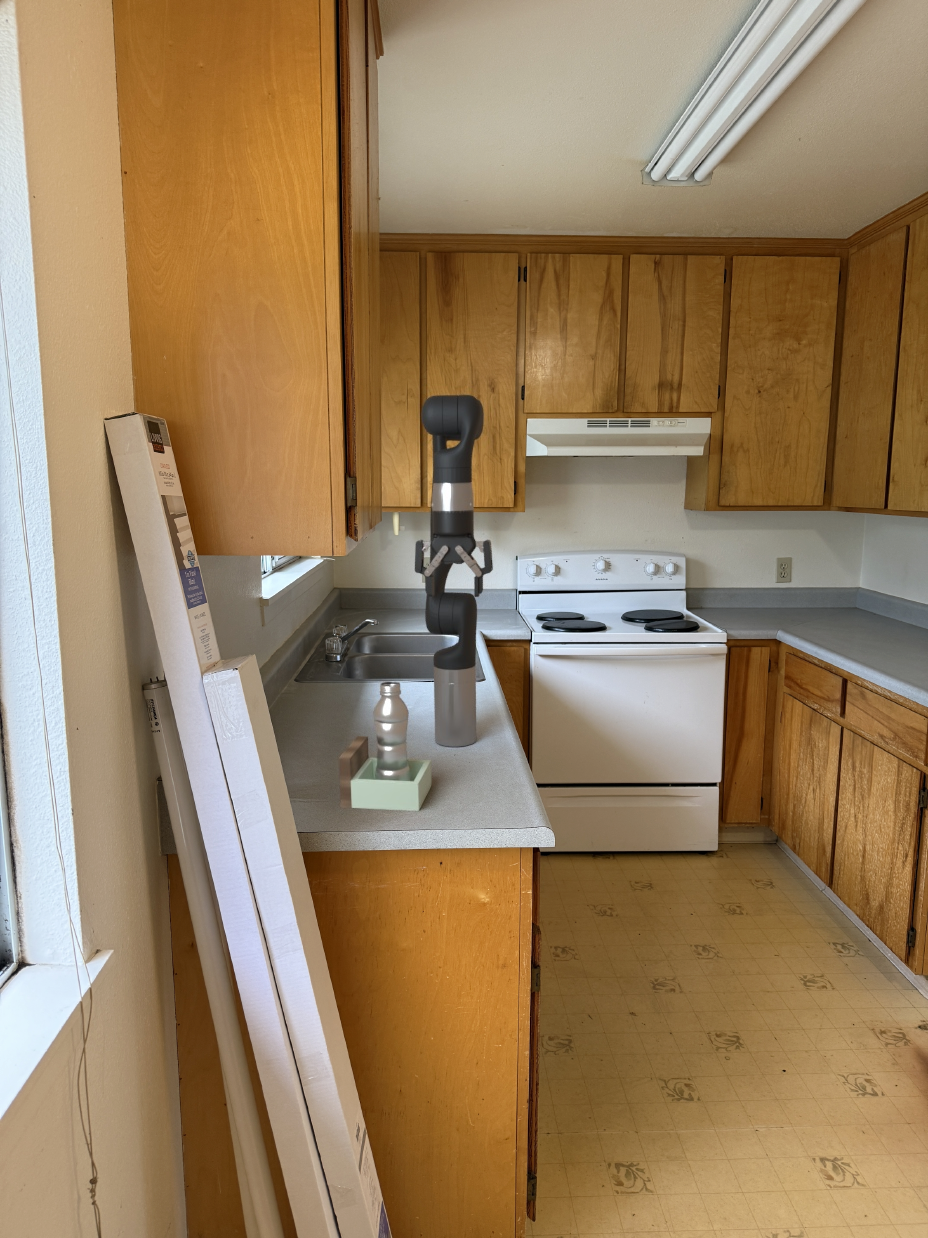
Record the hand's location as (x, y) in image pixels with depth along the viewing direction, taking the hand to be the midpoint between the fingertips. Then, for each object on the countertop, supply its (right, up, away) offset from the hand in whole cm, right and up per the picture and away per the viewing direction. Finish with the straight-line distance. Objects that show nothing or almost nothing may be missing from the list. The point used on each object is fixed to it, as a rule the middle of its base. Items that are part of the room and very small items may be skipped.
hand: (454, 596), depth 152 cm
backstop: (-7, -37, -4) cm, 38 cm away
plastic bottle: (-11, -36, -3) cm, 37 cm away
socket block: (-11, -36, -3) cm, 38 cm away
